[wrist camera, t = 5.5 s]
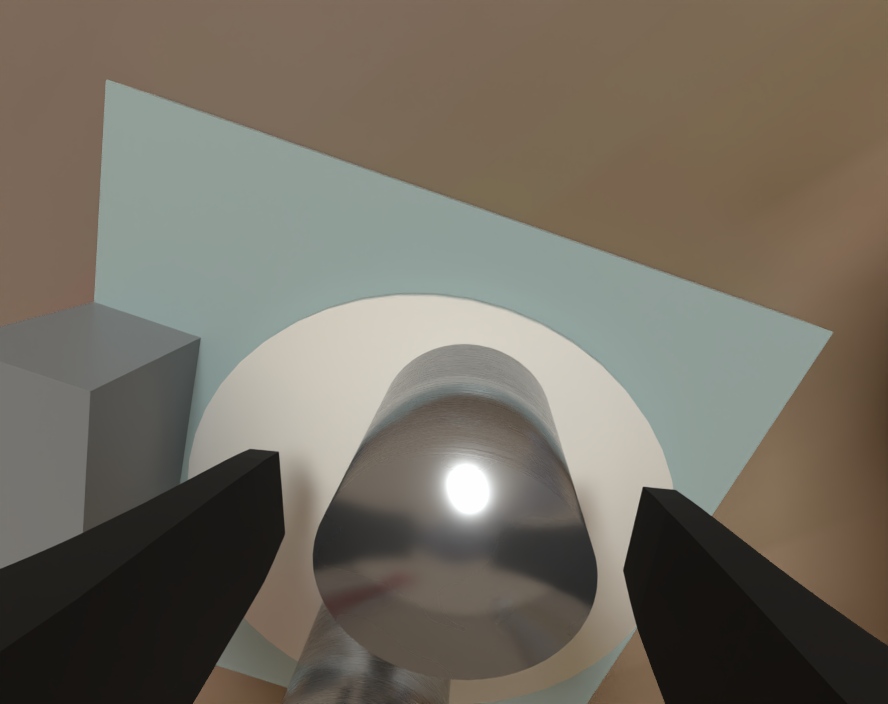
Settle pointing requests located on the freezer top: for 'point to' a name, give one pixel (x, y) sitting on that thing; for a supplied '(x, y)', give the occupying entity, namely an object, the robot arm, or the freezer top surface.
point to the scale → (359, 361)
